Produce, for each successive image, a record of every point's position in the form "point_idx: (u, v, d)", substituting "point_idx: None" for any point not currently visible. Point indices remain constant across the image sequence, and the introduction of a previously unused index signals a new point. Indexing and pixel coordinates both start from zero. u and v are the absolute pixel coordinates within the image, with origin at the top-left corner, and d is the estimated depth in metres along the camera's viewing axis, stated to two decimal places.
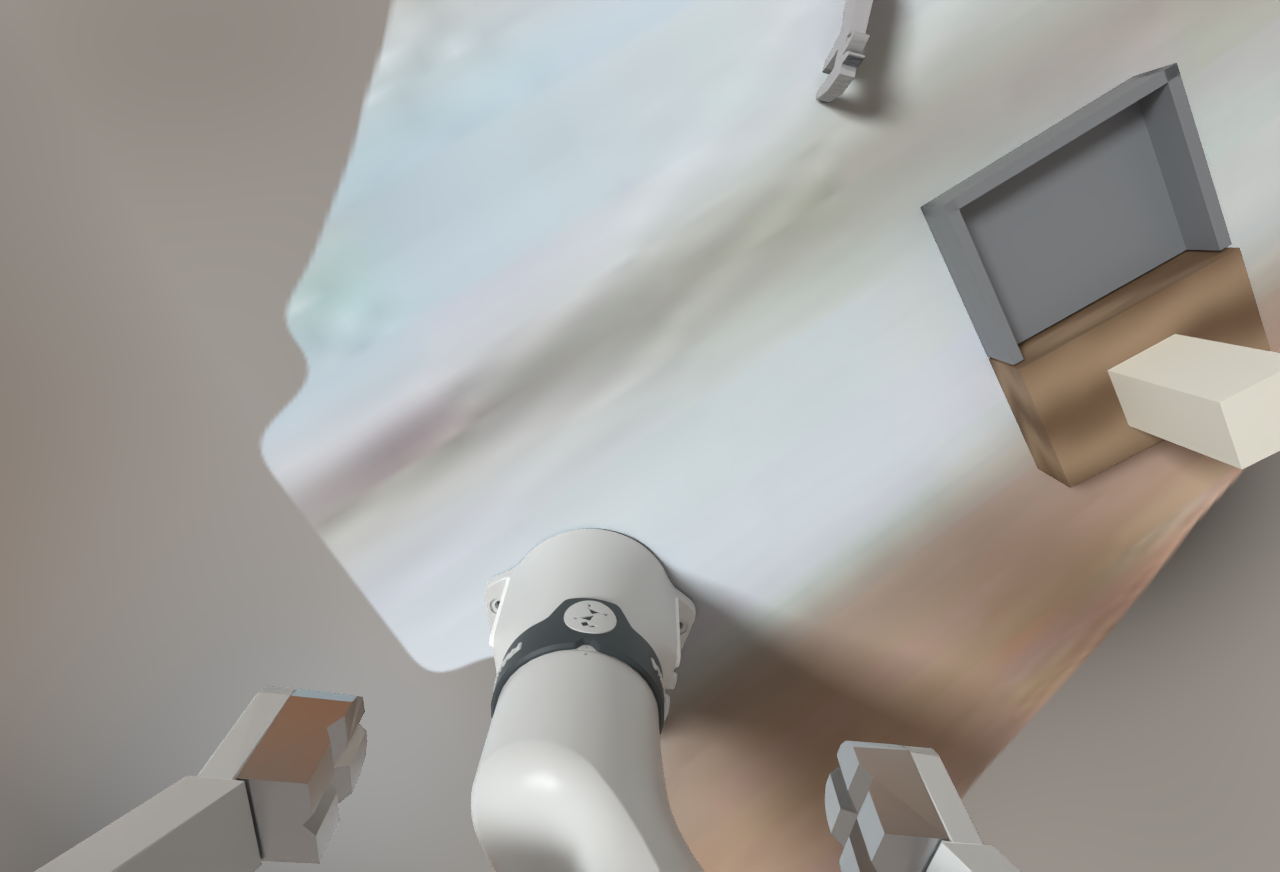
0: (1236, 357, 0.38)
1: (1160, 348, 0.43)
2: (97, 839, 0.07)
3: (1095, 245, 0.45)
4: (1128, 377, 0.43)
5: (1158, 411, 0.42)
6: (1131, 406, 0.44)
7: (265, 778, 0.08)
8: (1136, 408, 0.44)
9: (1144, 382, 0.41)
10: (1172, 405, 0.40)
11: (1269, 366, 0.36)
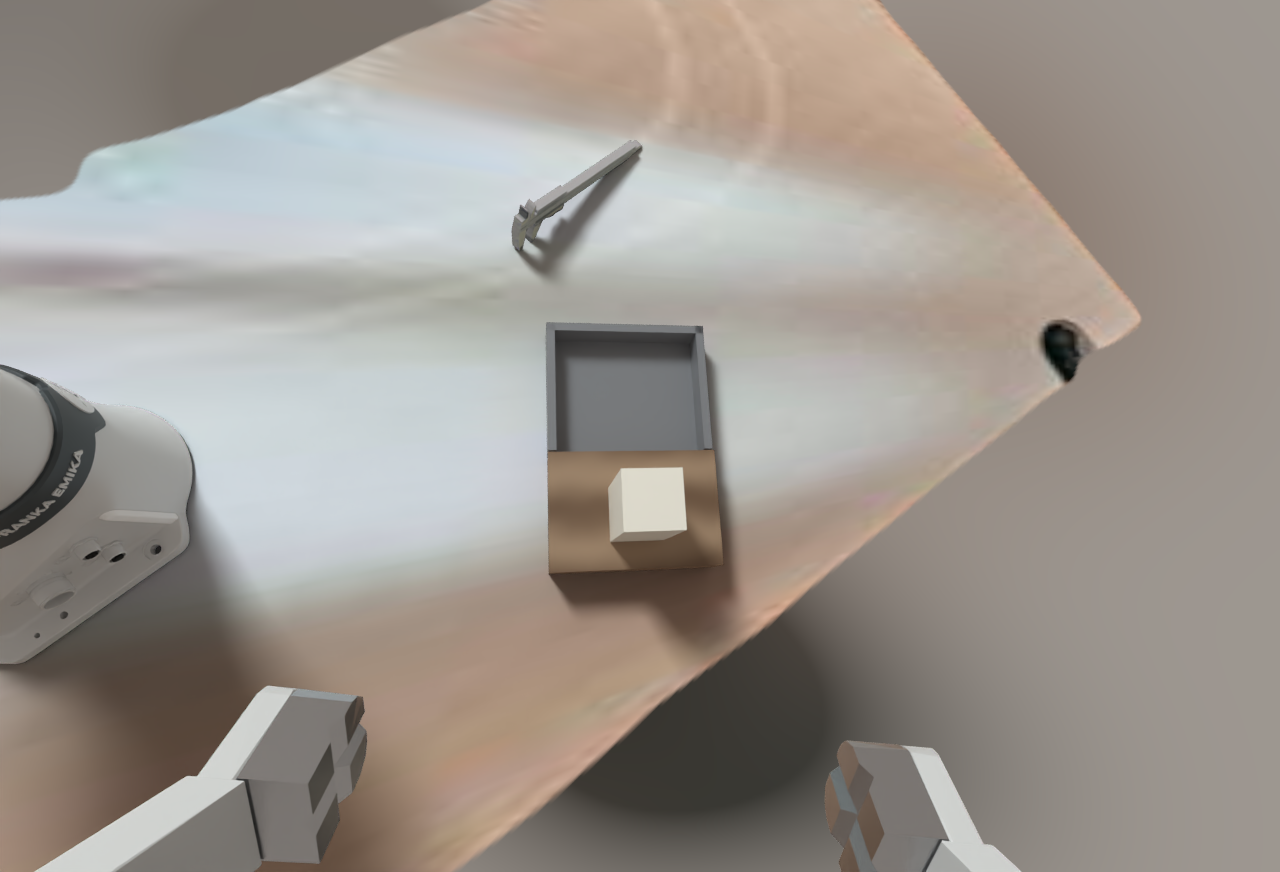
0: None
1: None
2: (97, 838, 0.07)
3: (641, 418, 0.62)
4: (610, 484, 0.55)
5: (613, 509, 0.53)
6: (610, 517, 0.55)
7: (265, 778, 0.08)
8: (611, 516, 0.55)
9: (612, 482, 0.54)
10: (615, 493, 0.52)
11: None
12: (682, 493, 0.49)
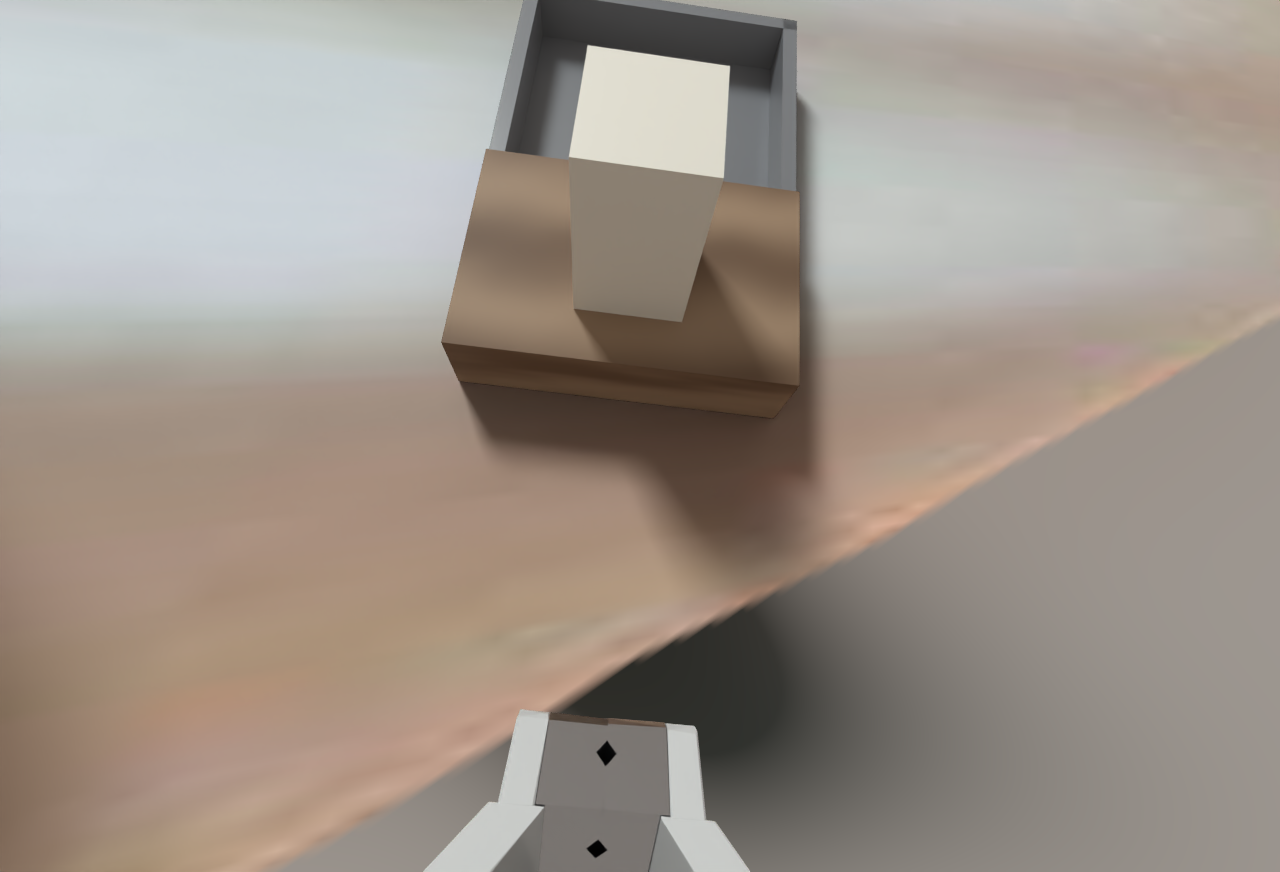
0: None
1: None
2: (433, 866, 0.08)
3: None
4: None
5: None
6: None
7: (560, 803, 0.08)
8: None
9: None
10: None
11: None
12: (722, 110, 0.21)
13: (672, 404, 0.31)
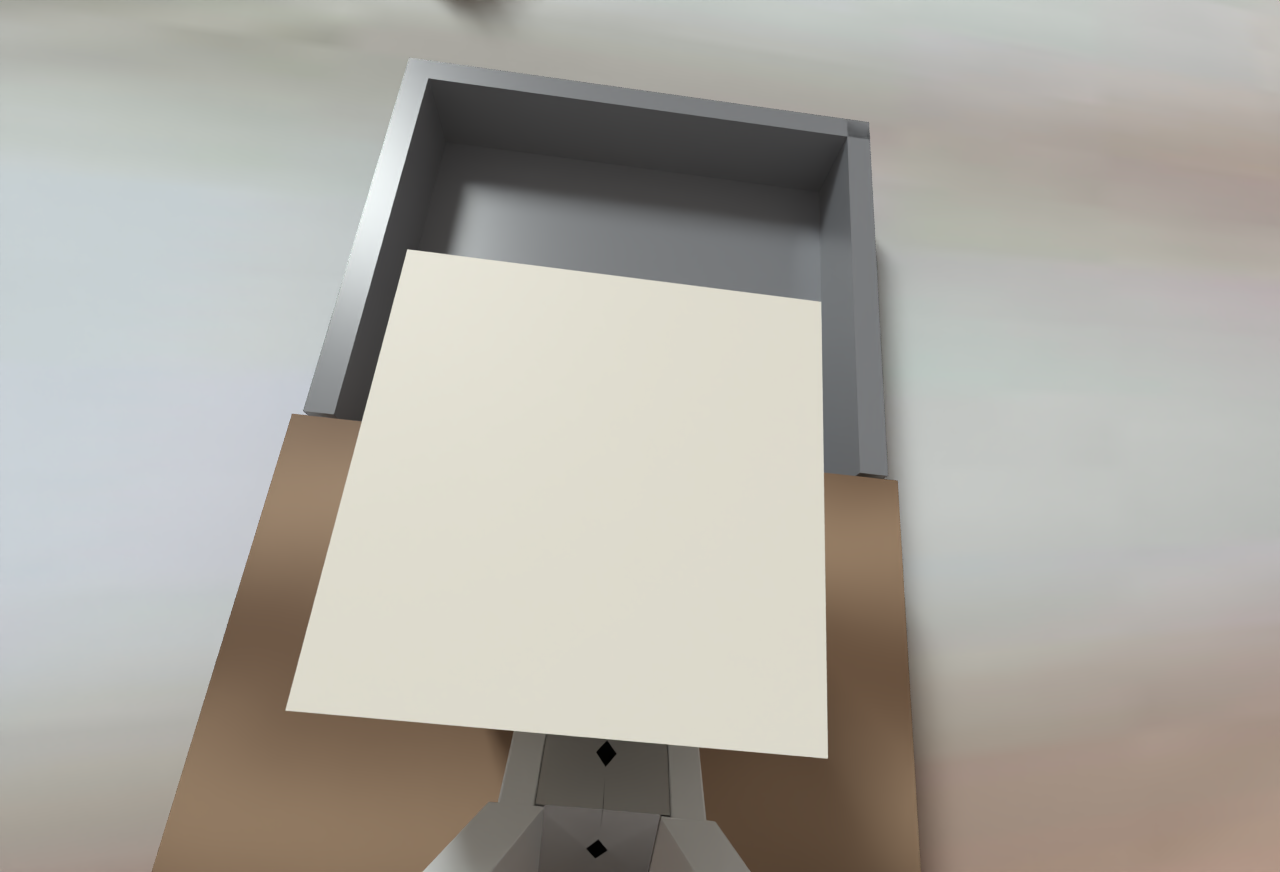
0: None
1: None
2: (432, 866, 0.08)
3: None
4: None
5: None
6: None
7: (559, 803, 0.08)
8: None
9: None
10: None
11: None
12: (809, 464, 0.07)
13: None
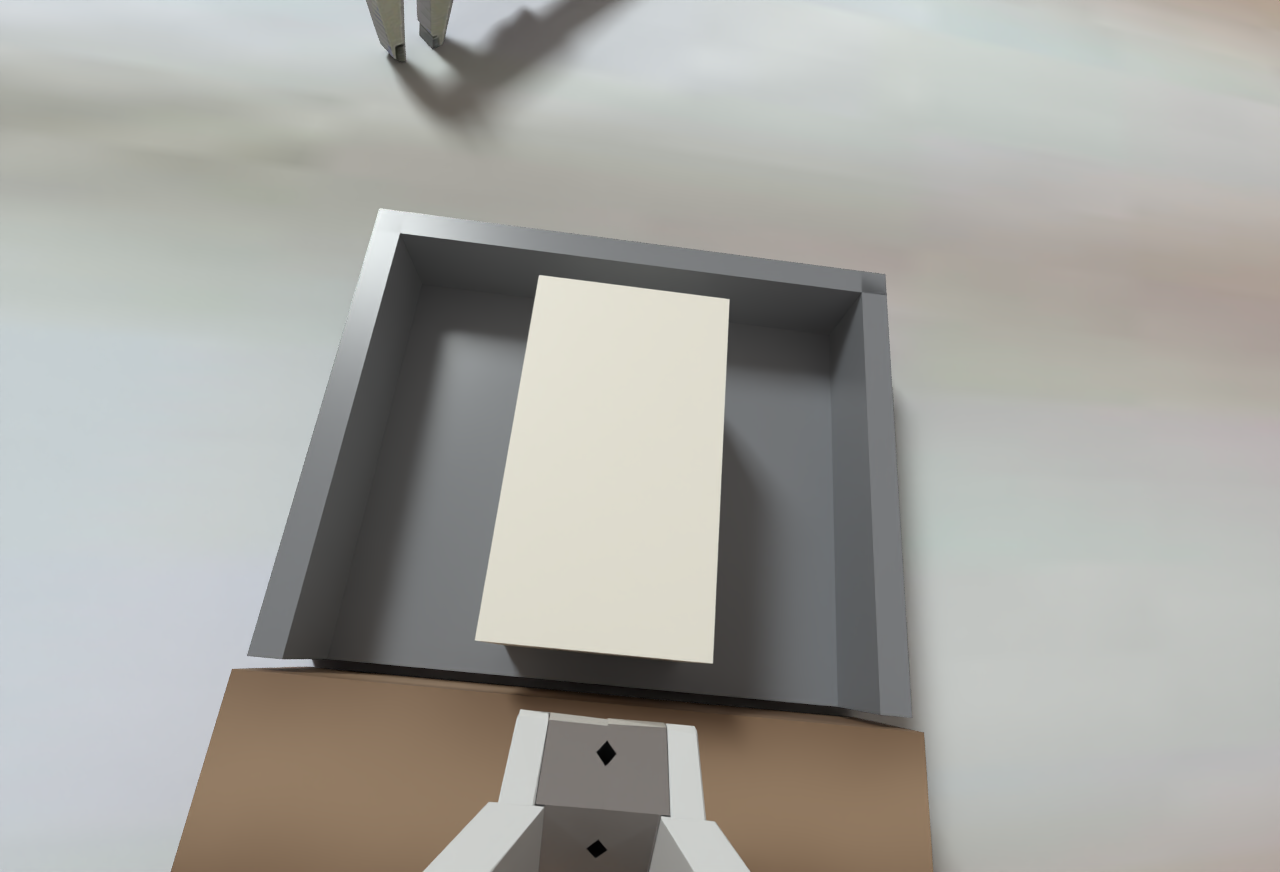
0: None
1: None
2: (433, 866, 0.08)
3: None
4: None
5: None
6: None
7: (559, 803, 0.08)
8: None
9: None
10: None
11: None
12: None
13: None
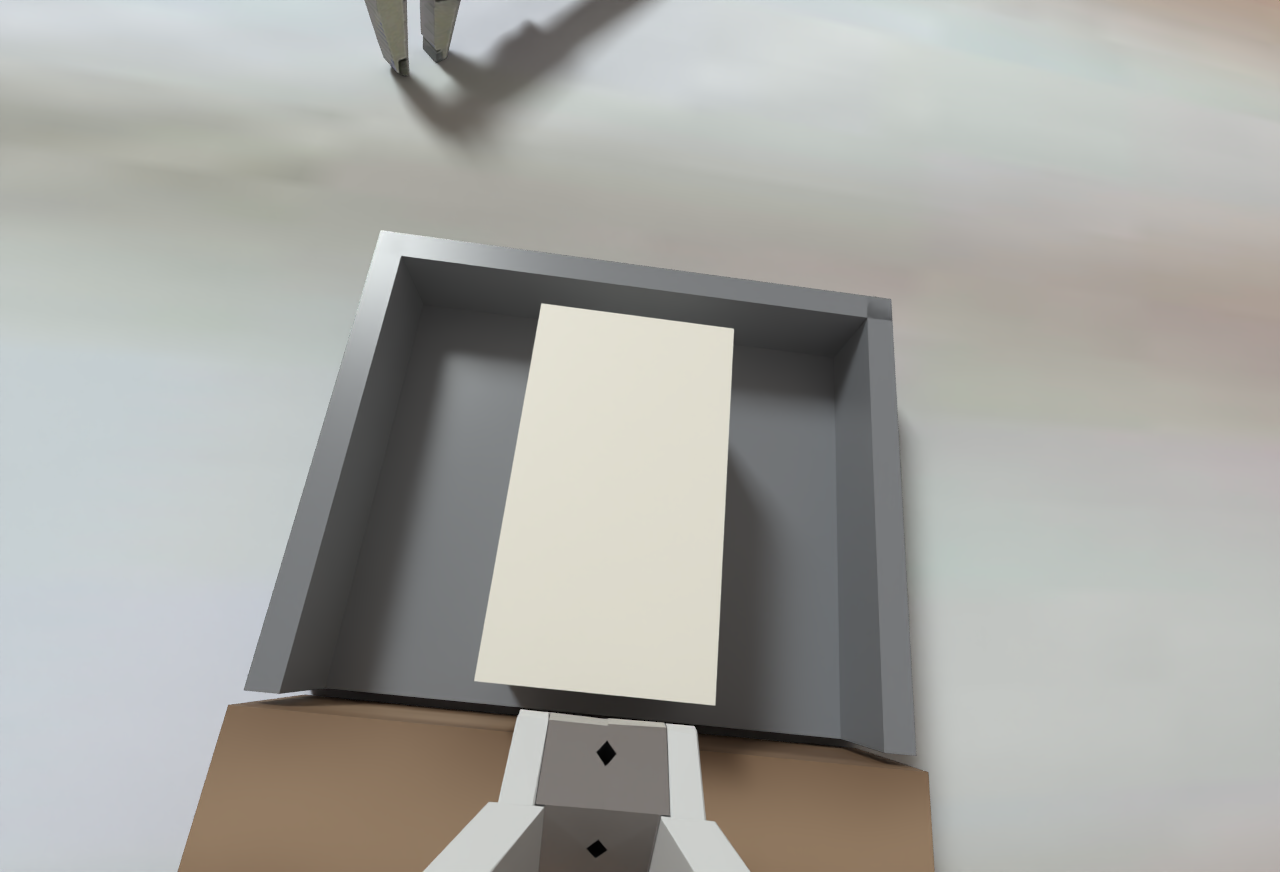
0: None
1: None
2: (433, 866, 0.08)
3: None
4: None
5: None
6: None
7: (560, 804, 0.08)
8: None
9: None
10: None
11: None
12: None
13: None
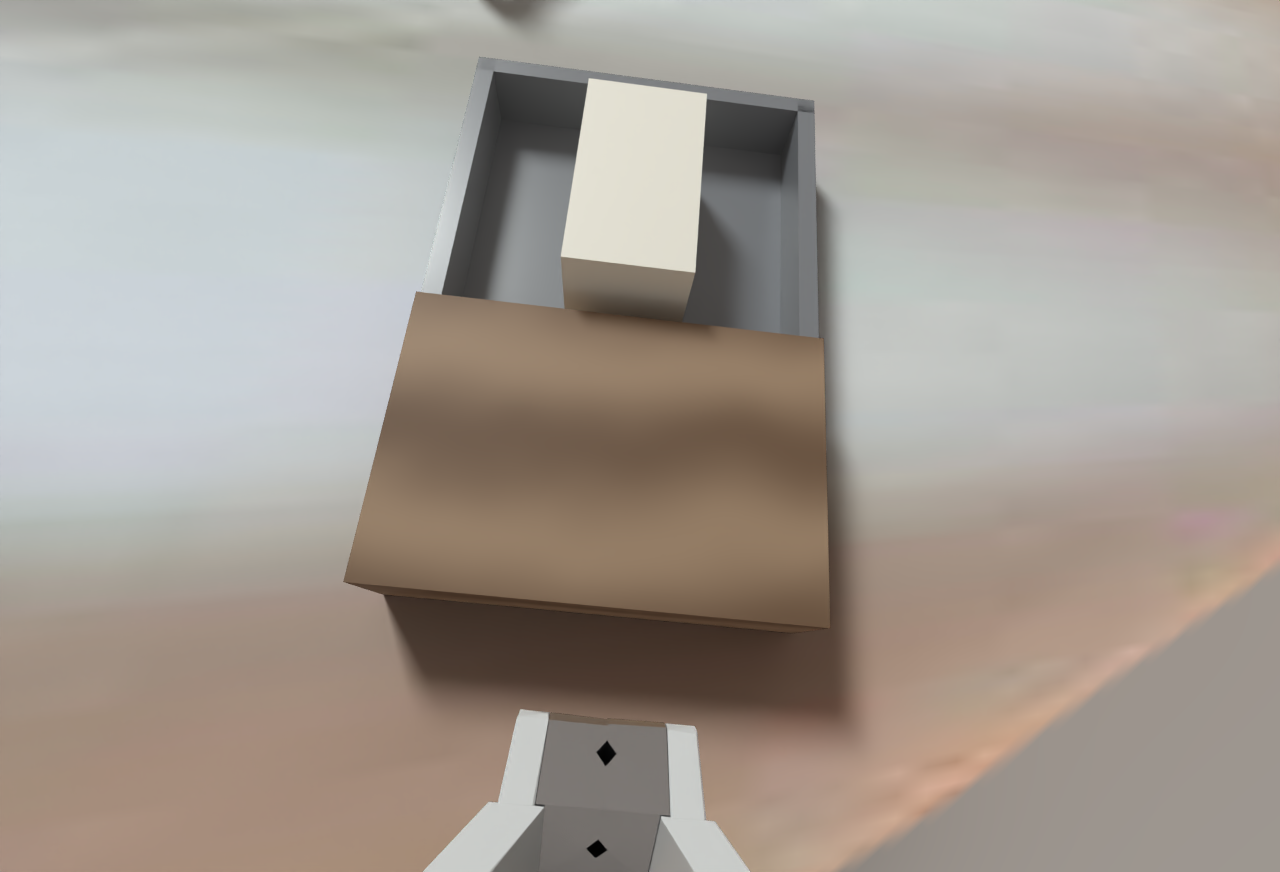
0: None
1: None
2: (433, 866, 0.08)
3: None
4: None
5: None
6: None
7: (559, 803, 0.08)
8: None
9: None
10: None
11: None
12: None
13: (661, 620, 0.24)
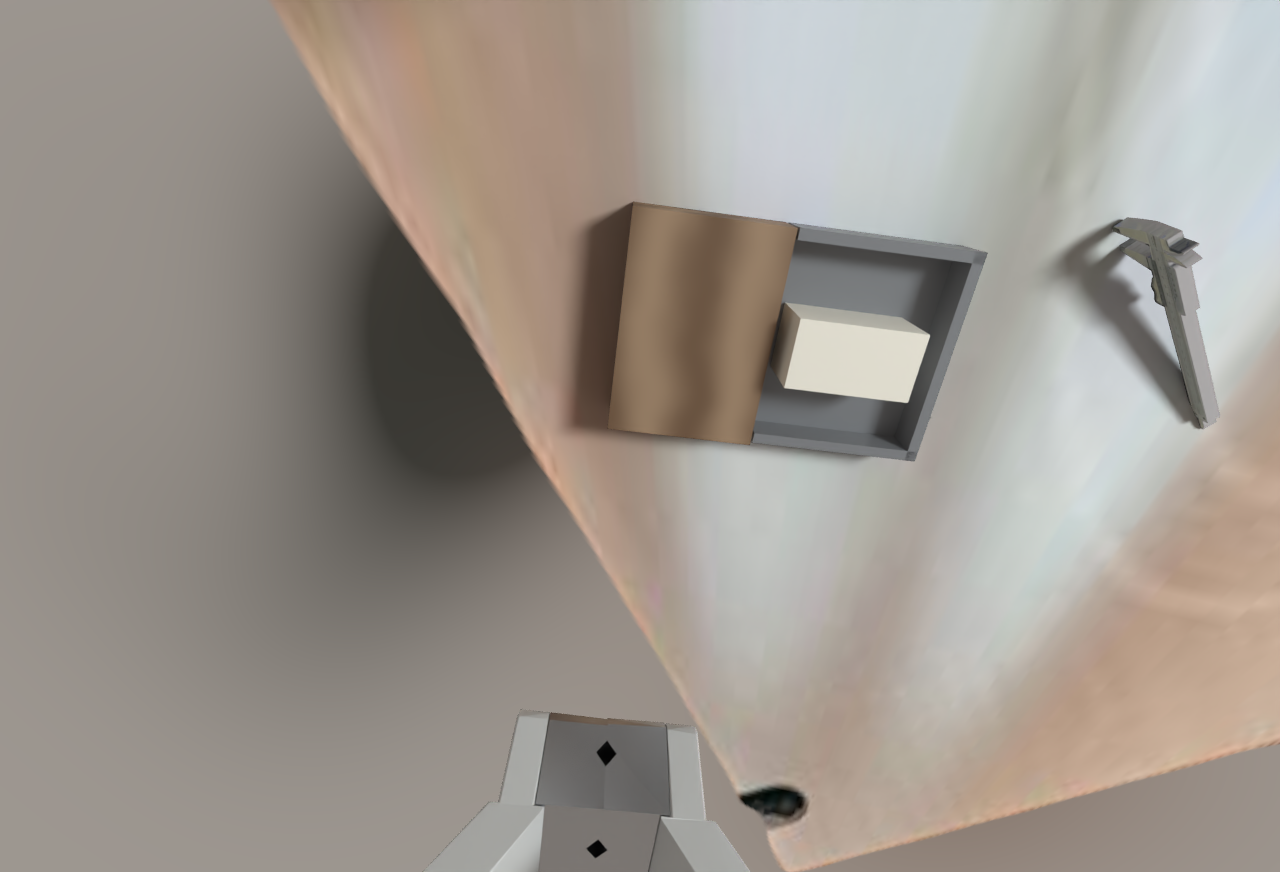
0: None
1: None
2: (433, 866, 0.08)
3: None
4: (811, 306, 0.46)
5: (842, 316, 0.43)
6: (809, 313, 0.43)
7: (560, 803, 0.08)
8: (815, 313, 0.43)
9: (829, 308, 0.46)
10: (858, 315, 0.45)
11: None
12: None
13: None
